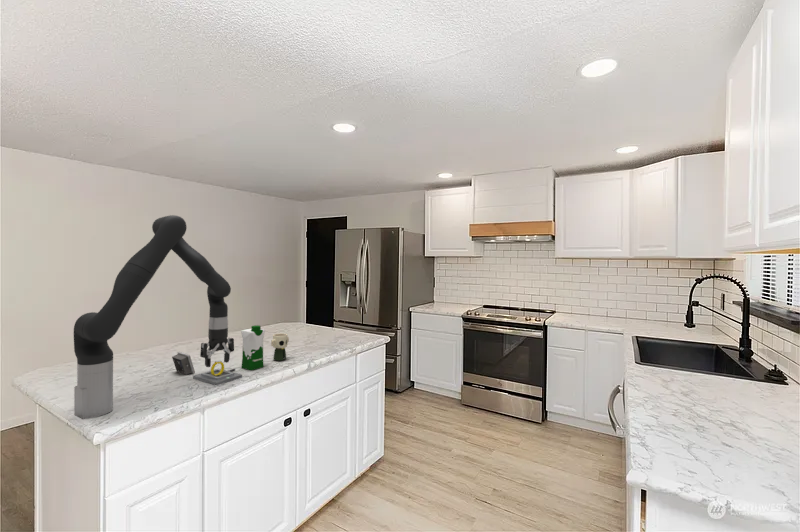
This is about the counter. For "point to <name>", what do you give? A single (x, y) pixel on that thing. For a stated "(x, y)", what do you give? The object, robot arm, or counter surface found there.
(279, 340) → the character mug
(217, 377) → the charging dock
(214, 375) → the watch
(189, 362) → the electrical switch
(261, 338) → the milk carton
